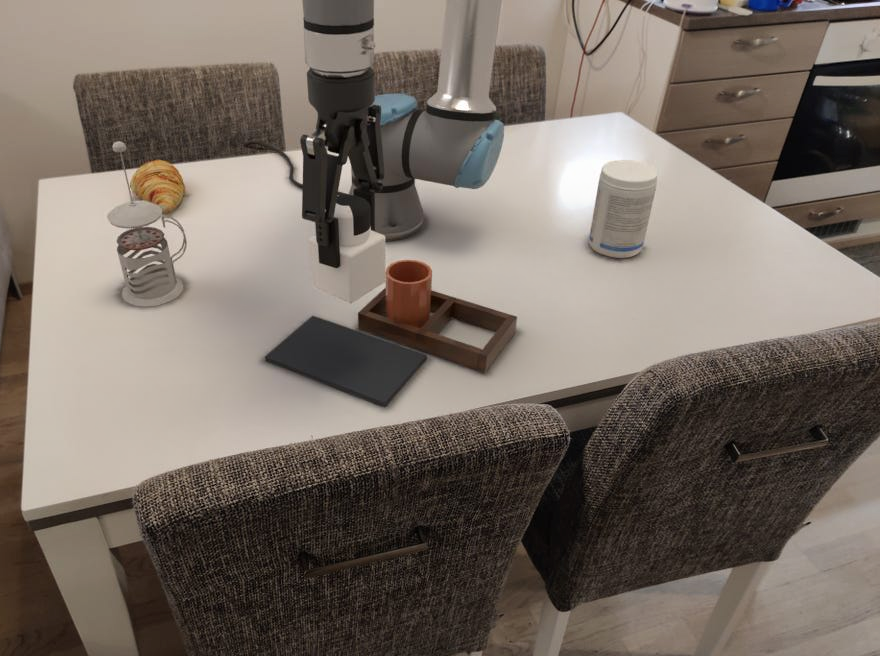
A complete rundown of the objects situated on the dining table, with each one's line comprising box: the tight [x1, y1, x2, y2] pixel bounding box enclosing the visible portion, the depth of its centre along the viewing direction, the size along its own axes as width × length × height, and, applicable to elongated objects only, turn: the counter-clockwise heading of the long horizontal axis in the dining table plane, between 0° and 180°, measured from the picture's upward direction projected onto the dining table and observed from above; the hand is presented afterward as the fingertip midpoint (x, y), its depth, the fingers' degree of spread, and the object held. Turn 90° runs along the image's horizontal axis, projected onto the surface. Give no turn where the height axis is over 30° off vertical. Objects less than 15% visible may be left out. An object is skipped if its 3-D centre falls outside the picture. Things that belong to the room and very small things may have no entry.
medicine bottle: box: [308, 195, 386, 304], centre depth 93 cm, size 7×7×12 cm
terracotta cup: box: [385, 259, 433, 328], centre depth 110 cm, size 7×7×9 cm
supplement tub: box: [588, 159, 659, 259], centre depth 127 cm, size 10×10×15 cm
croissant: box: [129, 158, 186, 213], centre depth 145 cm, size 21×10×8 cm, turn 26°
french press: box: [106, 140, 188, 308], centre depth 111 cm, size 10×12×25 cm
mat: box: [264, 315, 428, 408], centre depth 104 cm, size 20×12×1 cm, turn 61°
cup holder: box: [357, 286, 518, 373], centre depth 110 cm, size 21×11×3 cm, turn 61°
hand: (347, 249), depth 94 cm, fingers closed on medicine bottle, 8 cm apart
